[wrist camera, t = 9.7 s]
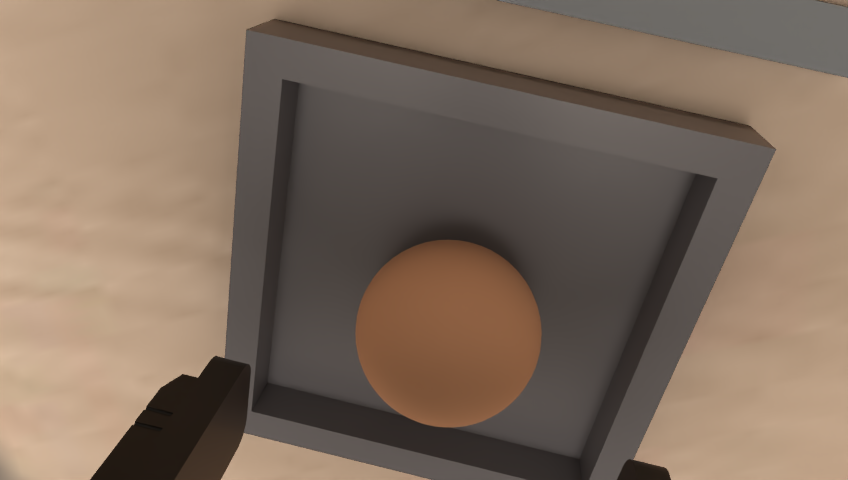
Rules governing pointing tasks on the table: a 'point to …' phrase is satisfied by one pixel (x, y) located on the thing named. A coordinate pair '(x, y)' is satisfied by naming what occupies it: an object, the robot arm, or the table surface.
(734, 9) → the distance line
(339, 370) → the tray
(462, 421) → the ball
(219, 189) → the table surface
